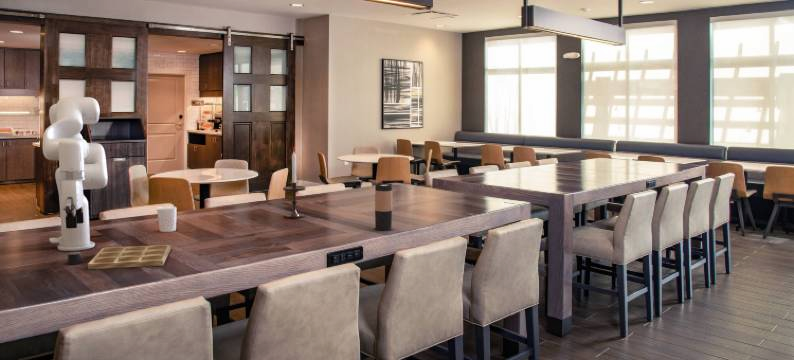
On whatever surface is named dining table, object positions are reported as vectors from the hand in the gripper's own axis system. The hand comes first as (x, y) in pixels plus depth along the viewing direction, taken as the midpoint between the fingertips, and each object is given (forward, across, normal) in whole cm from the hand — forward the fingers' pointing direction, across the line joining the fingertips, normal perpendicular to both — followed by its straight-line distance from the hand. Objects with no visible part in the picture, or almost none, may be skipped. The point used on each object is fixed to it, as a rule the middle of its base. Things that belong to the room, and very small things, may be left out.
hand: (75, 225), depth 214 cm
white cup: (+12, -50, +25) cm, 57 cm away
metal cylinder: (+13, 0, -1) cm, 13 cm away
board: (+13, -2, +17) cm, 22 cm away
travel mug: (+13, -34, +116) cm, 122 cm away
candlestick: (+12, -71, +81) cm, 108 cm away
